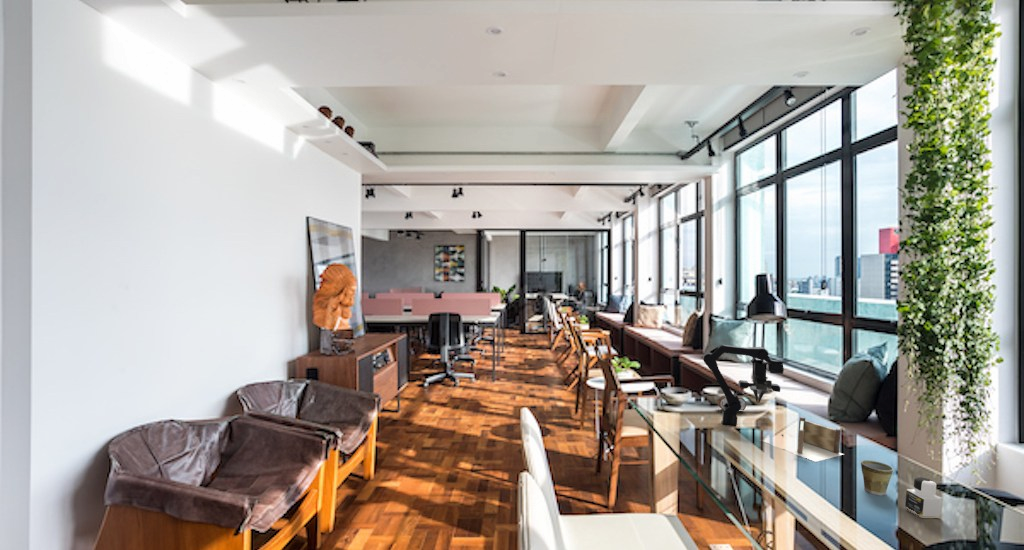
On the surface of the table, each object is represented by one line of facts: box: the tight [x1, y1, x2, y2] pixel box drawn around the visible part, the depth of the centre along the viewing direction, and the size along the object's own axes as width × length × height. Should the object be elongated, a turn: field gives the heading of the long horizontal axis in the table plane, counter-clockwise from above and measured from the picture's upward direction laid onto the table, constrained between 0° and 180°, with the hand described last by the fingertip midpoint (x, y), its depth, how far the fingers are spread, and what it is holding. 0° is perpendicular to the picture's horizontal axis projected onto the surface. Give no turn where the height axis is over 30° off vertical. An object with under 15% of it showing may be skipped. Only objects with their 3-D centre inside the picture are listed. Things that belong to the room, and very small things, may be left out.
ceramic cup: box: [860, 459, 894, 496], centre depth 200 cm, size 13×10×10 cm
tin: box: [717, 394, 747, 411], centre depth 298 cm, size 15×3×8 cm, turn 84°
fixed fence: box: [797, 416, 842, 454], centre depth 244 cm, size 19×2×11 cm, turn 30°
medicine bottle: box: [904, 476, 943, 517], centre depth 182 cm, size 7×7×12 cm
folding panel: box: [797, 421, 804, 453], centre depth 242 cm, size 18×2×10 cm, turn 150°
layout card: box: [792, 441, 845, 463], centre depth 243 cm, size 28×22×1 cm
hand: (757, 402), depth 269 cm, fingers closed
